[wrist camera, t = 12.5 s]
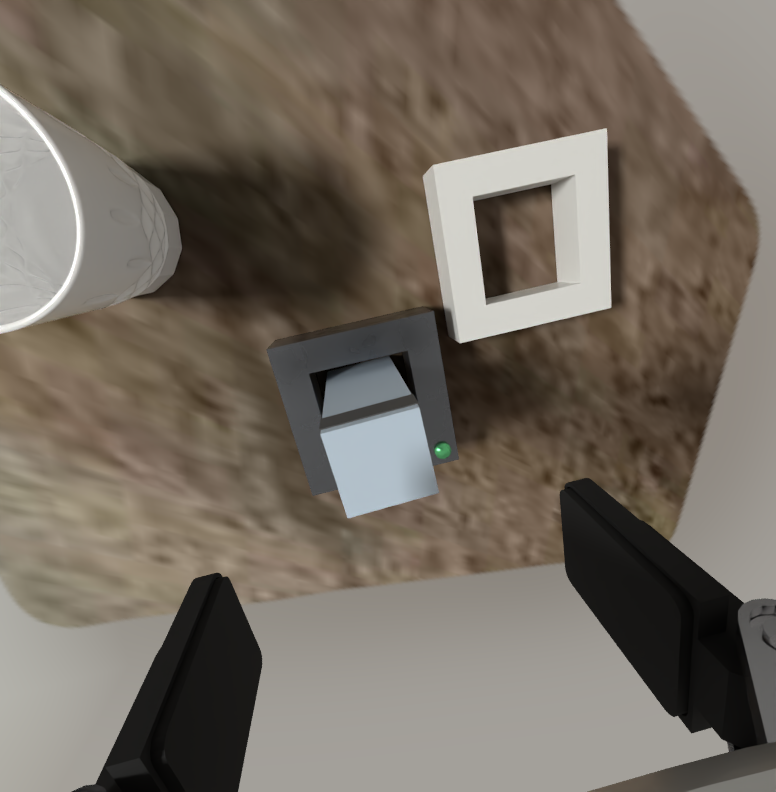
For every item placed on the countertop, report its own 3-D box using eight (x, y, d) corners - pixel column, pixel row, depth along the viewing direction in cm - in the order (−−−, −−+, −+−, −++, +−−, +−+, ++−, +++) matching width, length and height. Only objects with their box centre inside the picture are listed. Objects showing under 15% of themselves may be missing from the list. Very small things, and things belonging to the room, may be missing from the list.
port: (275, 340, 24) (265, 350, 21) (422, 306, 24) (434, 311, 21) (315, 471, 27) (312, 497, 24) (446, 439, 27) (459, 460, 24)
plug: (326, 371, 25) (318, 433, 15) (389, 354, 25) (420, 405, 15) (344, 429, 26) (346, 519, 17) (403, 413, 26) (440, 493, 17)
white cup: (54, 117, 19) (-219, -30, 10) (214, 197, 21) (114, 138, 12) (18, 269, 21) (-242, 268, 12) (169, 331, 23) (50, 373, 13)
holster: (422, 176, 22) (432, 164, 20) (578, 143, 22) (606, 128, 20) (448, 336, 25) (459, 343, 23) (586, 304, 25) (611, 307, 23)
